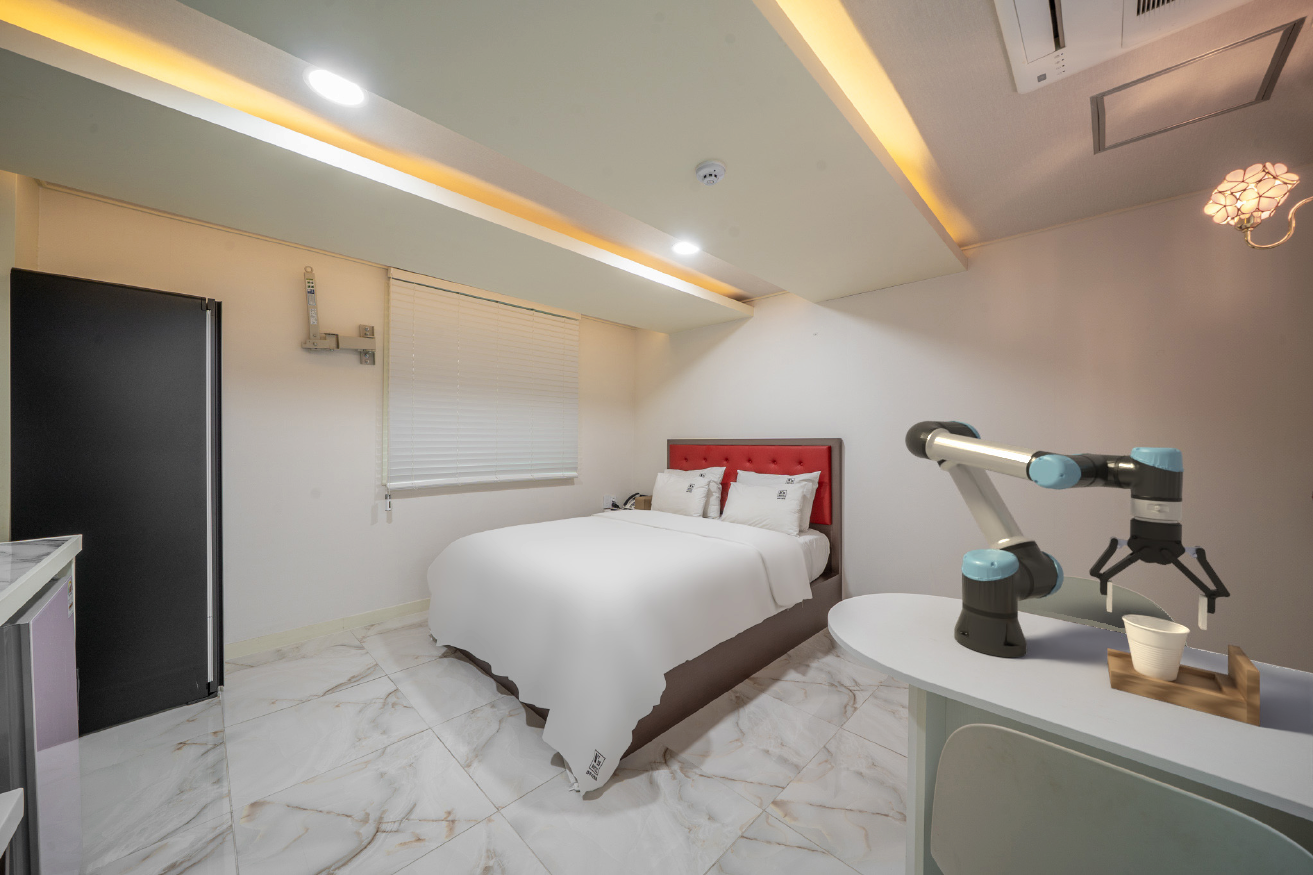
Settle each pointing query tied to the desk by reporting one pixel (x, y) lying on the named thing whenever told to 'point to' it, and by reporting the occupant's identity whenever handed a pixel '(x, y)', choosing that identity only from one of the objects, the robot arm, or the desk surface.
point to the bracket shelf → (1196, 686)
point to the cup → (1155, 645)
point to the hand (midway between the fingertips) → (1153, 618)
